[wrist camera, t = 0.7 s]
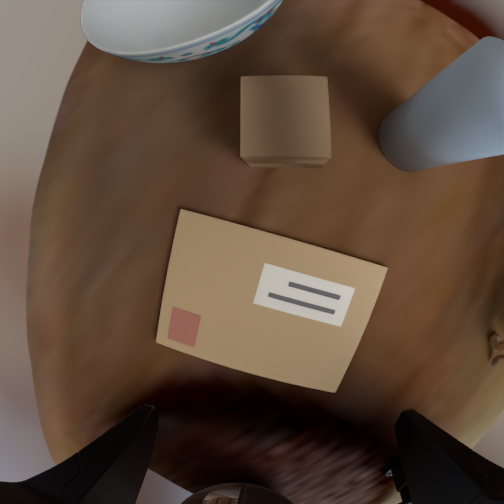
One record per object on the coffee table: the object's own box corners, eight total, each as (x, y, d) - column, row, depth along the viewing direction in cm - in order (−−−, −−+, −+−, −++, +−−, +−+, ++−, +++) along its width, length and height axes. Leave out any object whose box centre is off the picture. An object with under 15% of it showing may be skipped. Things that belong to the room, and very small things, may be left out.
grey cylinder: (436, 125, 18) (546, 76, 5) (426, 180, 19) (551, 169, 6) (383, 102, 18) (471, 16, 6) (372, 159, 19) (475, 111, 6)
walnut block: (318, 103, 19) (327, 76, 14) (320, 168, 20) (331, 157, 15) (250, 103, 20) (240, 76, 15) (250, 167, 20) (240, 156, 16)
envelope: (386, 267, 20) (388, 268, 20) (334, 390, 23) (335, 393, 22) (182, 208, 21) (180, 208, 21) (157, 340, 24) (155, 342, 23)
